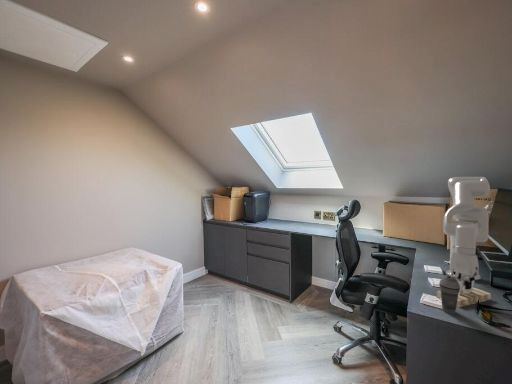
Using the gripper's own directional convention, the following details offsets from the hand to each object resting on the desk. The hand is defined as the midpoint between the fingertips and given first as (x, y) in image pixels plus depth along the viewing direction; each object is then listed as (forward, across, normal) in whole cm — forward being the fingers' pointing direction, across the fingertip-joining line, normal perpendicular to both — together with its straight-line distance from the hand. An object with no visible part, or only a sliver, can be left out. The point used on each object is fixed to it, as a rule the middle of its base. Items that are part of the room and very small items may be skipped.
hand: (463, 287), depth 118 cm
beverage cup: (+6, +6, -19) cm, 21 cm away
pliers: (+6, -32, +44) cm, 55 cm away
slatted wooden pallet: (+6, 0, 0) cm, 6 cm away
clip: (+3, 0, 0) cm, 3 cm away
